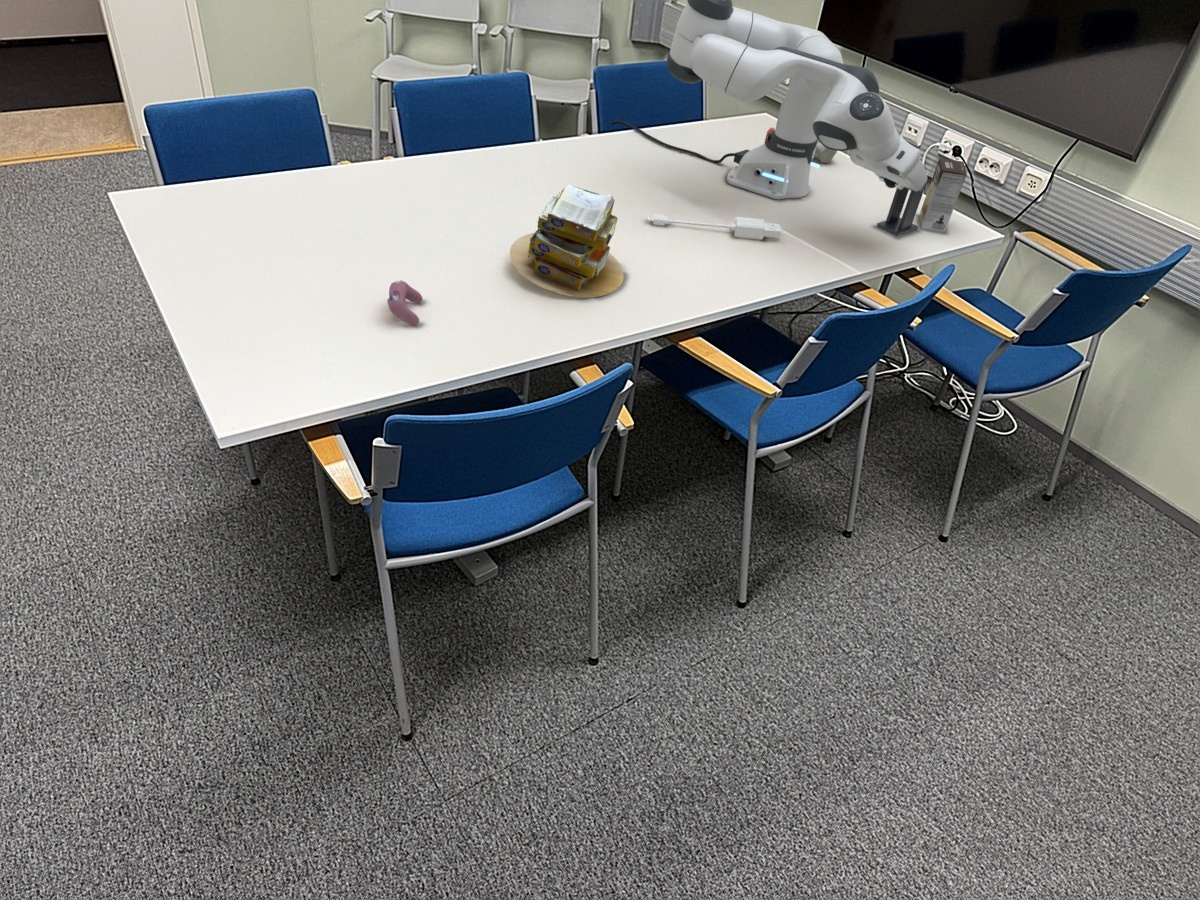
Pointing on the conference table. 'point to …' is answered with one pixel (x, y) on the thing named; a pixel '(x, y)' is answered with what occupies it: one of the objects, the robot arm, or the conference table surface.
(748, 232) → the charging cable
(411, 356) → the conference table surface
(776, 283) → the conference table surface
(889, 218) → the dark grey upright bracket
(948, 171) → the coffee box
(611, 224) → the stack of yellow boxes
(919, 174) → the robot arm
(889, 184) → the flush lever
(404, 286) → the video game controller
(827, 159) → the ceramic sculpture
